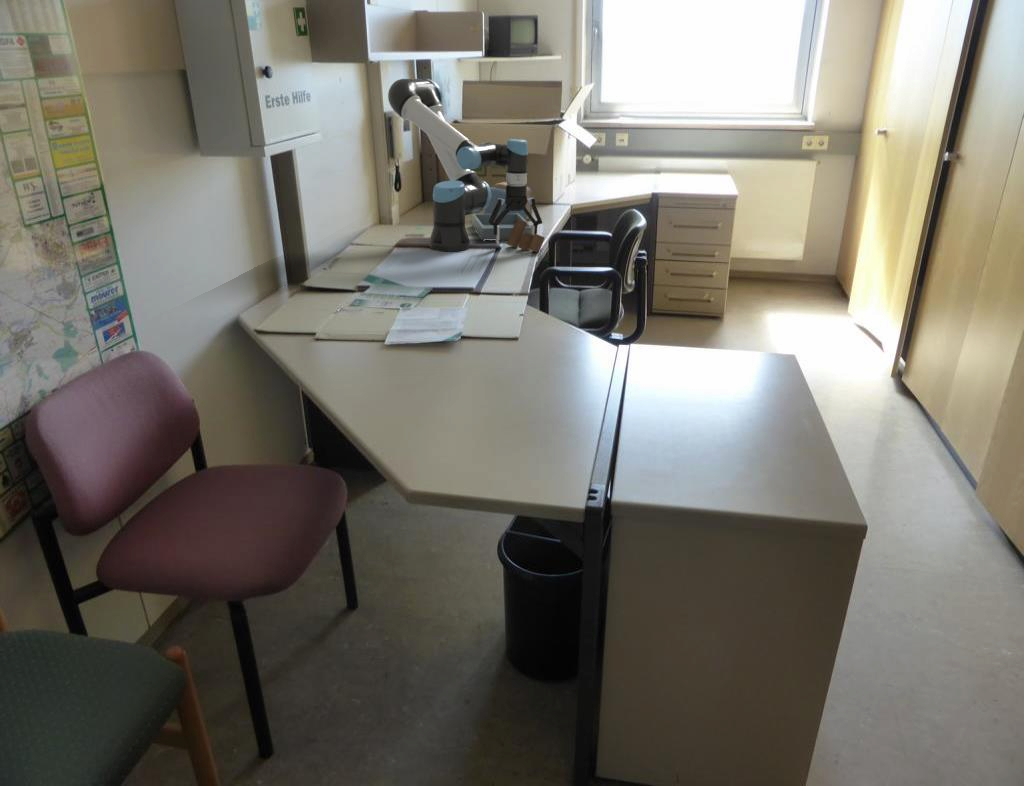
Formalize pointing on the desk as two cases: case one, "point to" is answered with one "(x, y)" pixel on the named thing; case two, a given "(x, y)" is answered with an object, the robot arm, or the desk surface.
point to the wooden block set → (524, 238)
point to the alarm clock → (500, 192)
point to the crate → (506, 225)
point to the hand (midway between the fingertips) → (514, 243)
